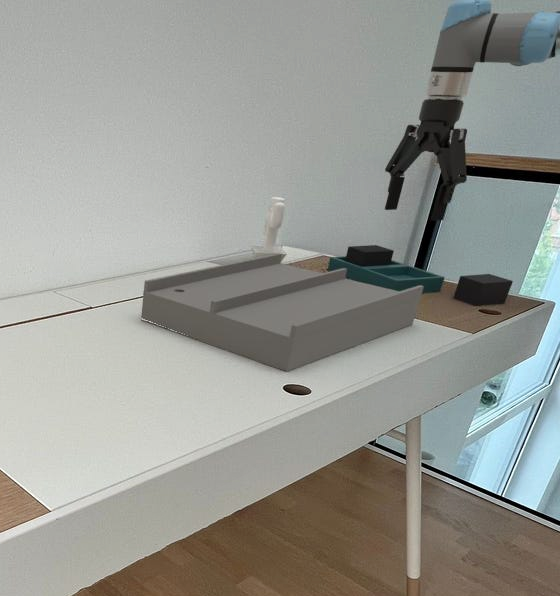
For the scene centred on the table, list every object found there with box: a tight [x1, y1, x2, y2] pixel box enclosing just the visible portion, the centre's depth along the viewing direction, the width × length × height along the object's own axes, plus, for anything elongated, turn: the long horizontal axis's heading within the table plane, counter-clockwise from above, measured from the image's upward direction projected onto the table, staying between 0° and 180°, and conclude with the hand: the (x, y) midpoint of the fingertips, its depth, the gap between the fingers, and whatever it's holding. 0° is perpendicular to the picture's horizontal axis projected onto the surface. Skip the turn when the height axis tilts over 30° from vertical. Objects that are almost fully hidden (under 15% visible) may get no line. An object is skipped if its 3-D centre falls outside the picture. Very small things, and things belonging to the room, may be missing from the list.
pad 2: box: [452, 273, 514, 307], centre depth 139 cm, size 6×8×4 cm
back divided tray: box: [327, 255, 445, 294], centre depth 152 cm, size 22×13×3 cm, turn 20°
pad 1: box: [345, 244, 395, 267], centre depth 155 cm, size 6×8×4 cm
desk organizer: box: [140, 253, 424, 373], centre depth 122 cm, size 32×40×7 cm
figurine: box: [250, 196, 287, 264], centre depth 157 cm, size 7×9×15 cm
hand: (412, 214), depth 145 cm, fingers open, 13 cm apart
